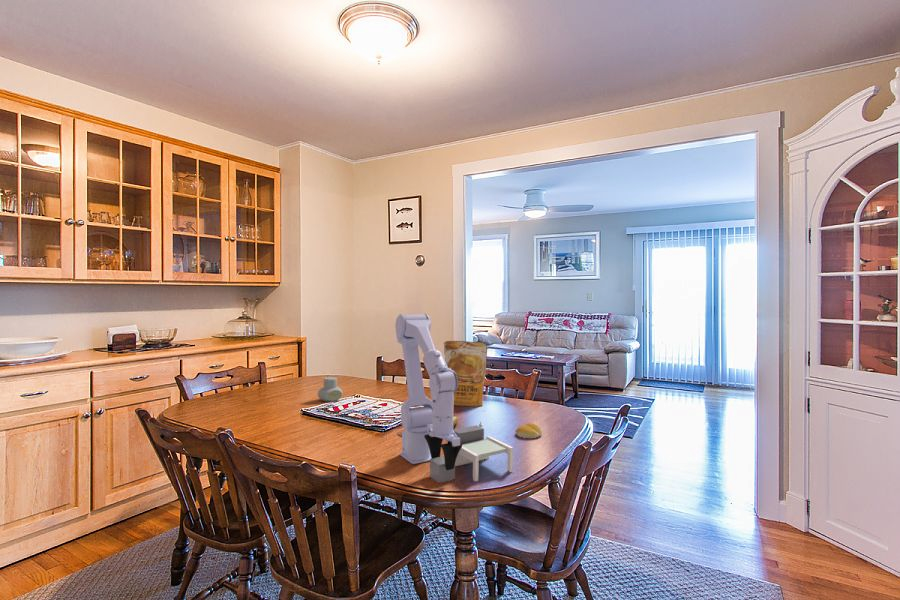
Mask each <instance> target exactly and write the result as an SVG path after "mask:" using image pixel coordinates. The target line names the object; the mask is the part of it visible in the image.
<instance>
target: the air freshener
mask: <svg viewBox="0 0 900 600" xmlns="http://www.w3.org/2000/svg"><path fill="white" fill-rule="evenodd" d="M343 394H344V391H343V390H342V388H340V387H339V386H338V378H337V377H336V376H335V377H334V376H327V377H326V376H325V377H324V378H323V387H321V388H320V389H319V390H318V391H317V397H318V398H319V399H320V400H322V401H324V402H328V403H329V402H331V403H332V402H336V401H338V400H339V399H341V398H342V397H343Z"/></svg>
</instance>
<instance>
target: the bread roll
mask: <svg viewBox="0 0 900 600" xmlns="http://www.w3.org/2000/svg"><path fill="white" fill-rule="evenodd" d="M515 434H516V435H517V436H518V437H519V438H521V437H523V438H522V439H525V438H535V439H537V438H536V437H538V438H540V437H542V434H543V431H542V428H541V427H539V426H538V425H537V424H535V423H532V422H531V423H530V422H529V423H525V424H524V425H520V426H518V427H517V428H516V429H515ZM539 436H540V437H539Z"/></svg>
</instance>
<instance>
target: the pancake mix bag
mask: <svg viewBox="0 0 900 600" xmlns="http://www.w3.org/2000/svg"><path fill="white" fill-rule="evenodd" d="M443 348H444V349H443V350H444V353H443V355H444V360H445V362H446V364H447V367H448V368H451V370H453V371H455V373H456V375H457V379H458V387H457V390H456V391H453V392H454V406H457V407H473V408H474V407H475V408H476V407H482V406H483V407H484V404H483V395H484V390H485V389H484V386H485V380H486V371H487V358H488V357H487V355H488V354H487V353H488V345H487V343H485V342H484V341H467V340H446V341H444V342H443Z"/></svg>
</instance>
